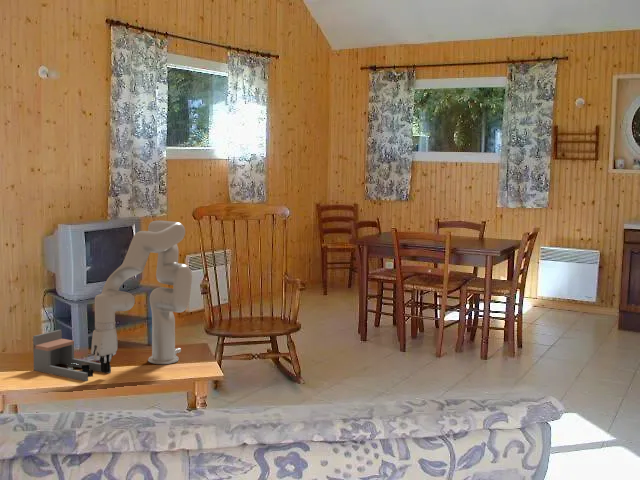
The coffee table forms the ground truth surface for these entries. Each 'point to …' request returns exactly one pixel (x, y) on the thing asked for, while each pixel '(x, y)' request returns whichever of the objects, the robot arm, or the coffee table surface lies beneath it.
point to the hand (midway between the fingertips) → (105, 371)
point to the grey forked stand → (58, 356)
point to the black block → (87, 369)
